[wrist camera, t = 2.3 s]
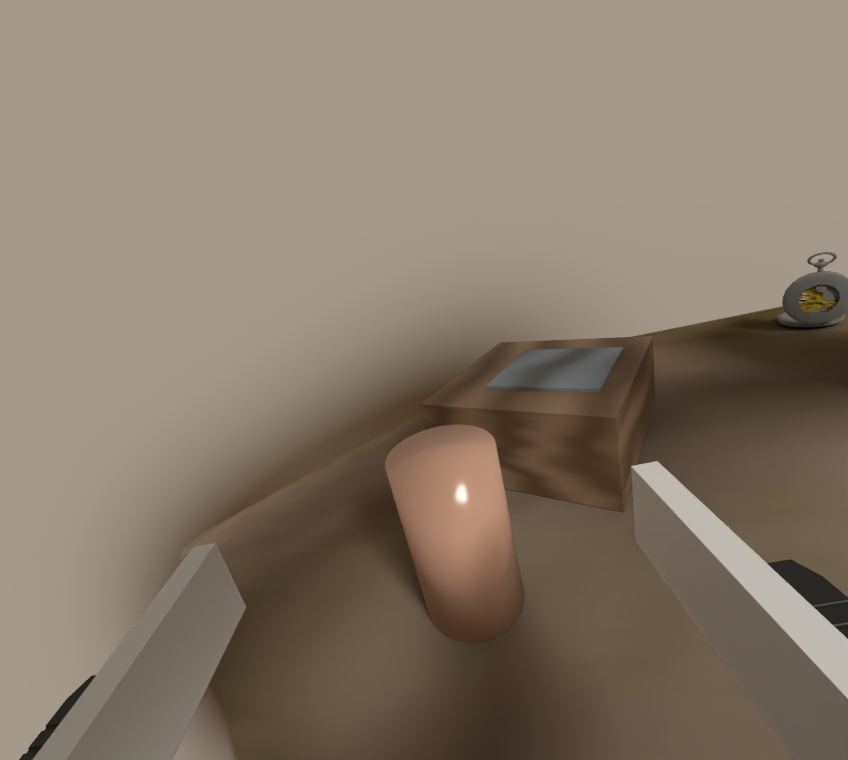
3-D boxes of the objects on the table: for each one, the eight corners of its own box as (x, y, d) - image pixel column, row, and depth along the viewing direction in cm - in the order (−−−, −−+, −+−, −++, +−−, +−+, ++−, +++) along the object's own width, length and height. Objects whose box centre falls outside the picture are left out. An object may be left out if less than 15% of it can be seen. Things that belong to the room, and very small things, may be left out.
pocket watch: (811, 313, 58) (818, 241, 55) (874, 324, 50) (886, 242, 47) (753, 325, 58) (756, 255, 55) (806, 339, 50) (814, 258, 47)
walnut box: (655, 406, 43) (652, 333, 41) (623, 512, 30) (616, 413, 28) (509, 399, 54) (499, 340, 51) (438, 475, 40) (419, 401, 38)
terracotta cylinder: (538, 574, 27) (514, 429, 23) (498, 661, 22) (459, 496, 19) (457, 548, 31) (425, 420, 27) (408, 617, 26) (362, 474, 22)
